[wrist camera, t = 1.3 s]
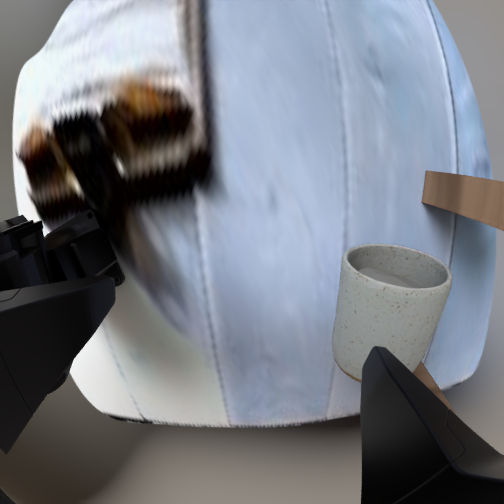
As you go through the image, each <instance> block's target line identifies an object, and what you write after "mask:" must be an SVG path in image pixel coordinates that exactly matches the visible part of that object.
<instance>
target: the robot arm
mask: <svg viewBox="0 0 504 504" xmlns="http://www.w3.org/2000/svg"><path fill="white" fill-rule="evenodd" d="M90 213H91V214H92V217H91V216H90ZM42 229H43V225H42V220H41V221H37V222H33V220H31V221H28V220H27V219H26V218H25V217H24V216H23V215H21V216H18V217H15V218H12V219H9V220H6V221H3V222H0V449H1V450H2V451H3V452H4V453H5V454H6V455H7V454H8V453H9V452H10V450H11V448H12V447H13V445H14V443H15V442H16V440H17V439H18V437H19V436H20V434H21V432H22V431H23V429H24V428H25V426H26V425H27V423H28V422H29V420H30V419H31V417H32V416H33V413H35V411H36V409H37V408H38V407H39V405H40V404H41V403H42V401H43V400H44V398H45V397H46V396H47V394H49V393H51V392H53V391H55V390H56V389H58V388H59V387H60V386H61V385H62V384H63V383H64V382H65V380H66V379H67V377H68V374H69V371H70V368H71V365H72V362H73V360H74V358H75V357H76V356H77V354H78V353H79V352H80V351H81V349H82V348H83V347H84V346H85V344H86V343H87V342H88V341H89V340H90V338H91V337H92V336H93V334H94V333H95V332H96V330H97V329H98V327H99V326H100V324H101V323H102V321H103V320H104V318H105V317H106V315H107V314H108V312H109V311H110V309H111V308H112V306H113V305H114V303H115V299H116V297H115V287H116V286H119V285H121V284H122V283H123V282H124V281H125V277H124V274H123V272H122V270H121V268H120V266H119V264H118V261H117V258H116V256H115V253H114V251H113V249H112V247H111V244H110V242H109V240H108V237H107V235H106V232H105V231H104V229H103V227H102V224H101V222H100V219H99V216H98V214H97V212H96V210H95V209H88V210H86V211H85V212H83V213H81V214H79V215H78V216H76V217H74V218H73V219H71V220H69V221H68V222H66V223H64V224H63V225H61V226H60V227H58V228H56V229H55V230H53V231H52V232H50V233H49V234H47V235H46V236H45V237H44V235H43V231H42ZM117 277H119V278H120V280H118V279H117ZM360 413H361V436H362V490H361V504H504V455H502V454H500V453H499V452H498V451H496V450H495V449H494V448H493V447H492V446H490V445H489V444H488V443H487V442H486V441H484V440H483V439H482V438H481V437H480V436H479V435H477V434H476V433H475V432H474V431H473V430H472V429H470V428H469V427H468V426H467V425H466V424H465V423H464V422H463V421H462V420H461V419H460V418H459V417H458V416H456V415H455V414H454V413H453V412H452V411H451V410H450V409H448V407H447V406H446V405H445V404H444V403H443V402H442V401H441V400H440V399H439V398H438V397H437V396H436V395H435V394H434V393H433V392H432V391H431V390H430V389H429V388H428V387H427V386H426V385H425V384H424V383H423V382H422V381H421V380H420V379H418V378H417V377H416V376H415V375H414V374H413V373H412V372H411V371H410V370H409V369H408V368H407V367H406V366H405V365H404V364H403V363H402V362H401V361H400V360H399V359H397V358H396V357H395V356H394V355H393V354H392V353H391V352H390V351H389V350H388V349H387V348H386V347H381V346H374V347H373V348H372V349H371V351H370V353H369V355H368V357H367V359H366V361H365V362H364V364H363V367H362V384H361V405H360ZM0 504H16V503H15V502H14V501H13V500H12V499H11V498H10V497H9V496H7V494H6V493H5V492H4V491H3V490H2V489H1V488H0Z"/></svg>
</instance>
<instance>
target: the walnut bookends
mask: <svg viewBox="0 0 504 504" xmlns="http://www.w3.org/2000/svg"><path fill="white" fill-rule="evenodd" d="M422 202H423V203H426V204H429V205H433V206H436V207H439V208H442V209H445V210H448V211H451V212H454V213H457V214H460V215H463V216H466V217H468V218H471V219H474V220H477V221H479V222H482V223H485V224H487V225H490V226H492V227H495V228H498V229H500V230H503V231H504V182H501V181H496V180H491V179H485V178H479V177H472V176H466V175H459V174H451V173H443V172H434V171H426V175H425V183H424V190H423V197H422ZM413 374H414V375H415V376H416V377H417V378H418V379H420V380H421V381H422V382H423V383H424V384H425V385H426V386H427V387H428V388H429V389H430V390H431V391H432V392H433V393H434V394H435V395H436V396H437V397H438V398H439V399H440V400H441V401H442V402H443V403H444V404H445V405H446V406H447V407H448V409H450V410H451V411H452V412H453V413H454V411H453V409H452V408H451V406H450V405H449V403H448V401H447V400H446V398H445V397H444V395H443V393H442V392H441V390H440V389H439V387H438V386H437V384H436V383H435V381H434V380H433V378H432V377H431V375H430V374H429V372H428V371H427V369H426V368H425V366H424V365H423V363H422V362H420V363H419V365H418V366H417V368H416V369H415V370H414V371H413ZM454 414H455V413H454ZM455 415H456V414H455Z"/></svg>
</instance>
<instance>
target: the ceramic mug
mask: <svg viewBox="0 0 504 504" xmlns="http://www.w3.org/2000/svg"><path fill="white" fill-rule="evenodd" d="M452 280H453V276H452V273H451V271H450V269H449V268H448V267H447V266H446V265H445V264H444V263H443V262H442V261H440V260H438V259H437V258H435V257H433V256H431V255H429V254H427V253H424V252H421V251H418V250H415V249H412V248H408V247H403V246H399V245H387V244H366V245H358V246H356V247H353V248H350V249H348V250H347V251H346V252H345V253H344V255H343V257H342V264H341V274H340V284H339V293H338V300H337V311H336V319H335V324H334V329H333V337H332V340H333V354H334V358H335V361H336V363H337V364H338V366H339V367H340V369H341V370H342V371H343V372H344V373H345V374H347V375H348V376H349V377H351V378H352V379H354V380H356V381H359V382H362V367H363V364H364V362H365V361H366V359H367V357H368V355H369V353H370V351H371V349H372V348H373V347H374V346H381V347H386V348H387V349H388V350H389V351H390V352H391V353H392V354H393V355H394V356H395V357H396V358H397V359H399V360H400V361H401V362H402V363H403V364H404V365H405V366H406V367H407V368H408V369H409V370H410V371H411V372H412V373H413V371H414V370H415V369H416V368H417V366H418V365H419V363H420V362H421V360H422V358H423V357H424V355H425V353H426V351H427V348H428V346H429V343H430V340H431V338H432V335H433V333H434V331H435V329H436V326H437V324H438V321H439V319H440V316H441V314H442V311H443V308H444V306H445V303H446V300H447V298H448V295H449V292H450V289H451V284H452Z"/></svg>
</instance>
